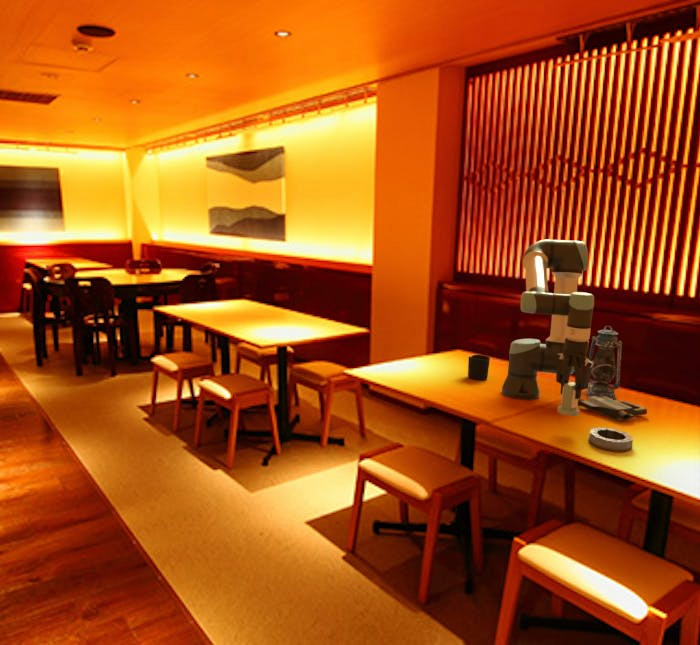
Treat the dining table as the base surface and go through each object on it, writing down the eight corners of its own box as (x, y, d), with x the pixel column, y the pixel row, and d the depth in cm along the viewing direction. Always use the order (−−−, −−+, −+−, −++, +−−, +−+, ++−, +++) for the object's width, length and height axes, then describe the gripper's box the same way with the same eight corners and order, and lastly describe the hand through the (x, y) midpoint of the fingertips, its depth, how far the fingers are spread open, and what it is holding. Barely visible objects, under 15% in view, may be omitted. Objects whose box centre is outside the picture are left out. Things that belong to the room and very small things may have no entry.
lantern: (575, 392, 240) (583, 323, 235) (592, 388, 247) (600, 321, 241) (608, 402, 227) (617, 330, 222) (625, 398, 234) (634, 328, 229)
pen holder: (491, 381, 252) (493, 359, 250) (471, 381, 251) (472, 359, 249) (483, 375, 261) (485, 354, 260) (464, 375, 260) (465, 354, 258)
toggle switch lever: (553, 411, 193) (556, 382, 191) (565, 407, 197) (568, 379, 195) (571, 417, 187) (575, 388, 185) (583, 413, 191) (587, 385, 189)
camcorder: (626, 425, 202) (628, 412, 201) (574, 409, 218) (576, 396, 217) (647, 418, 212) (649, 404, 211) (596, 402, 228) (598, 390, 227)
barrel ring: (580, 441, 185) (581, 432, 184) (602, 434, 192) (603, 424, 192) (618, 455, 174) (619, 445, 174) (639, 447, 182) (641, 437, 181)
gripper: (549, 335, 191) (542, 400, 196) (593, 345, 178) (584, 415, 183) (562, 333, 195) (555, 396, 200) (606, 342, 182) (597, 410, 187)
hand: (569, 405), depth 191 cm, fingers closed on toggle switch lever, 3 cm apart
